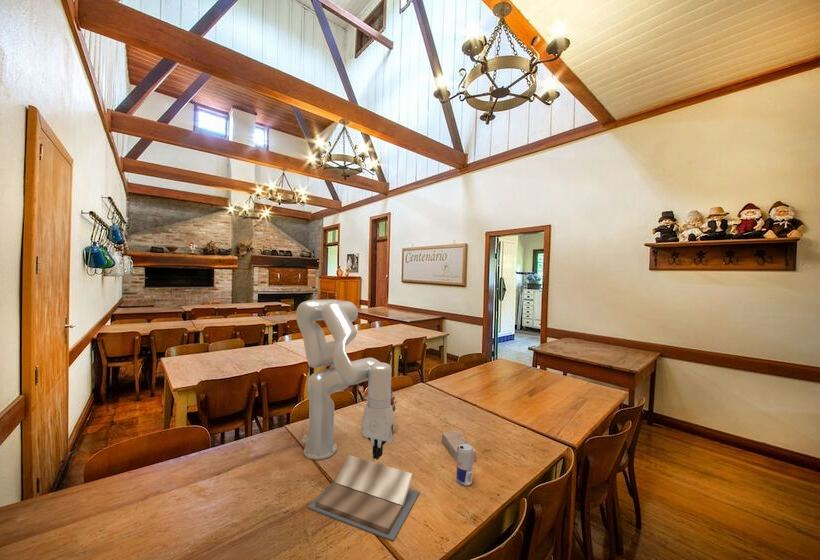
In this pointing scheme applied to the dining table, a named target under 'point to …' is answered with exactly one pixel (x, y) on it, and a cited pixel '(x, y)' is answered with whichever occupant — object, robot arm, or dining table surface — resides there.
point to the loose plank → (375, 479)
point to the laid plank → (360, 507)
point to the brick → (455, 442)
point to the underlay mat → (391, 536)
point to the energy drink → (464, 464)
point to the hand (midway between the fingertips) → (377, 457)
